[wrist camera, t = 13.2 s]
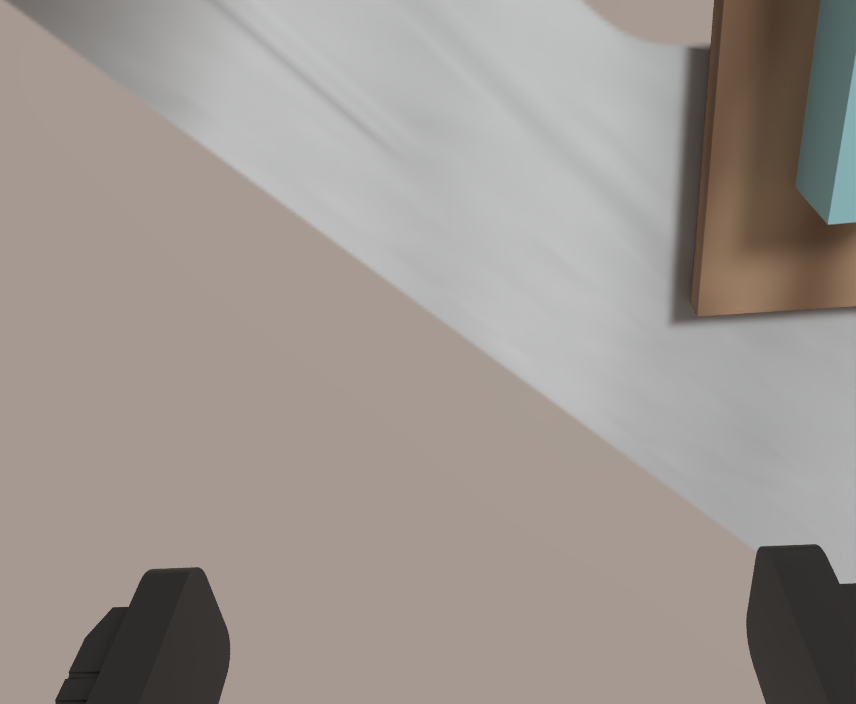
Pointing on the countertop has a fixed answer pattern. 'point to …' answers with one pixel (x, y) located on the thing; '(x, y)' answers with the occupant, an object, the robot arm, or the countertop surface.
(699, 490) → the countertop surface
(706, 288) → the jig
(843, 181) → the teal slotted block
